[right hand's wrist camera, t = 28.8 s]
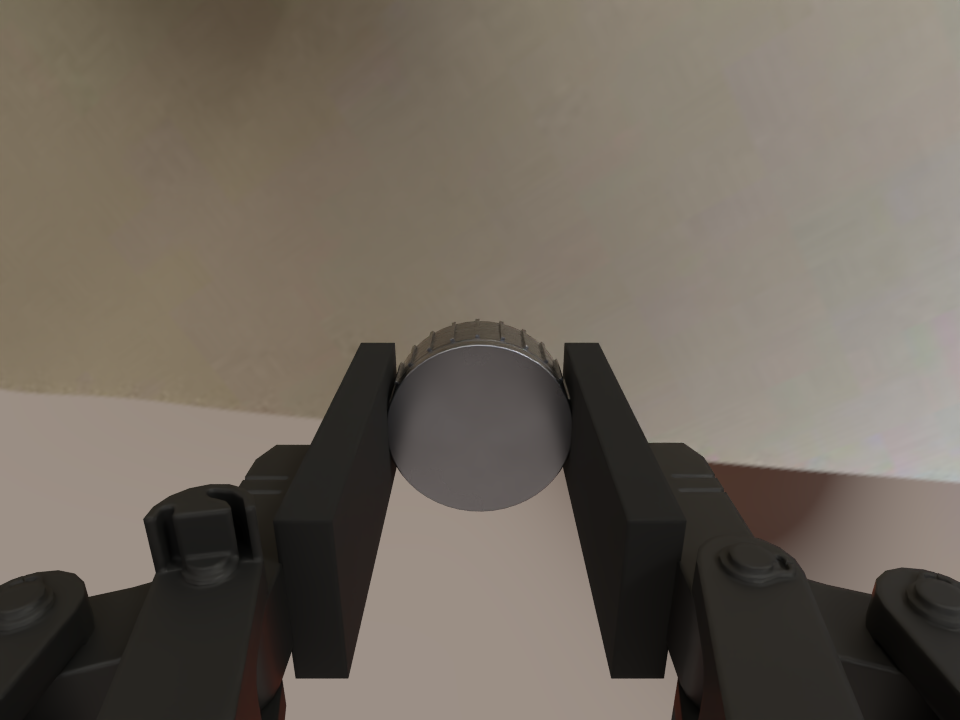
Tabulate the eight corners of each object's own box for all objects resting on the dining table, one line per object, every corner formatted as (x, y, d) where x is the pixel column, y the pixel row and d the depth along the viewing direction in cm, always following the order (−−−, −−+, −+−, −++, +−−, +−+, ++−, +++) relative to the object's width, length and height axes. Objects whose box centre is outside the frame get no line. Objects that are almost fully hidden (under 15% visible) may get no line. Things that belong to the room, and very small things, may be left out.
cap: (426, 291, 14) (420, 313, 12) (595, 354, 14) (608, 382, 13) (370, 445, 15) (358, 480, 13) (526, 496, 15) (531, 536, 14)
